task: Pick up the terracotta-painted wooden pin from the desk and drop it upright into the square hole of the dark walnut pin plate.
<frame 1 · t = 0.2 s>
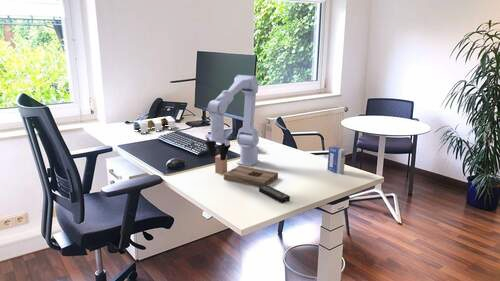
hand: (217, 157, 170), 10 cm above the table, tool pointing down, fingers open, 7 cm apart
pin plate: (251, 178, 173), on the table
handheld radio: (246, 147, 222), on the table
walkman: (335, 171, 184), on the table
pin: (221, 172, 181), on the table
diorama: (154, 130, 257), on the table
multiport hub: (273, 197, 156), on the table
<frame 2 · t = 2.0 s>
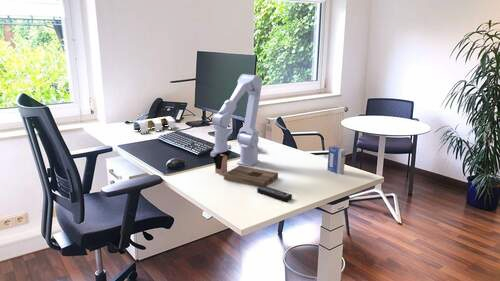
hand: (221, 167, 180), 2 cm above the table, tool pointing down, fingers closed on pin, 4 cm apart
pin: (221, 172, 181), on the table, touching gripper
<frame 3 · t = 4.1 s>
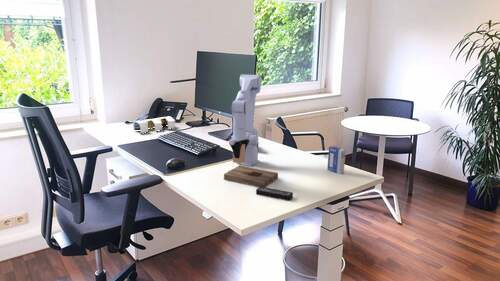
hand: (239, 156, 174), 9 cm above the table, tool pointing down, fingers closed on pin, 4 cm apart
pin: (238, 161, 174), point 7 cm above the table, touching gripper
when the fingers open (4 cm above the table, at t = 6.2 s): pin drops 1 cm, resting in pin plate.
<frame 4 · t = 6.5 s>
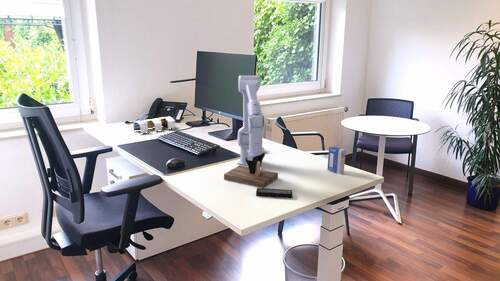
hand: (255, 171, 171), 4 cm above the table, tool pointing down, fingers open, 6 cm apart
pin: (254, 179, 173), resting in pin plate
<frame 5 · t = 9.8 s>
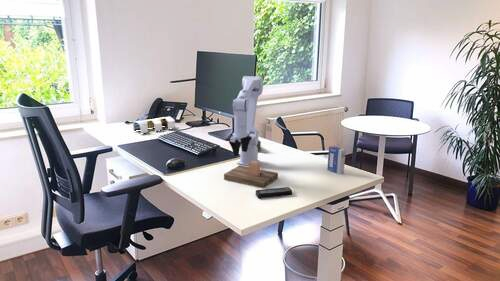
hand: (240, 153, 178), 9 cm above the table, tool pointing down, fingers open, 7 cm apart
at the end: pin 0.4 cm from the target spot on the pin plate, point 0.0 cm above the pin plate's base; pin tilted 0°; the gripper is holding nothing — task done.
